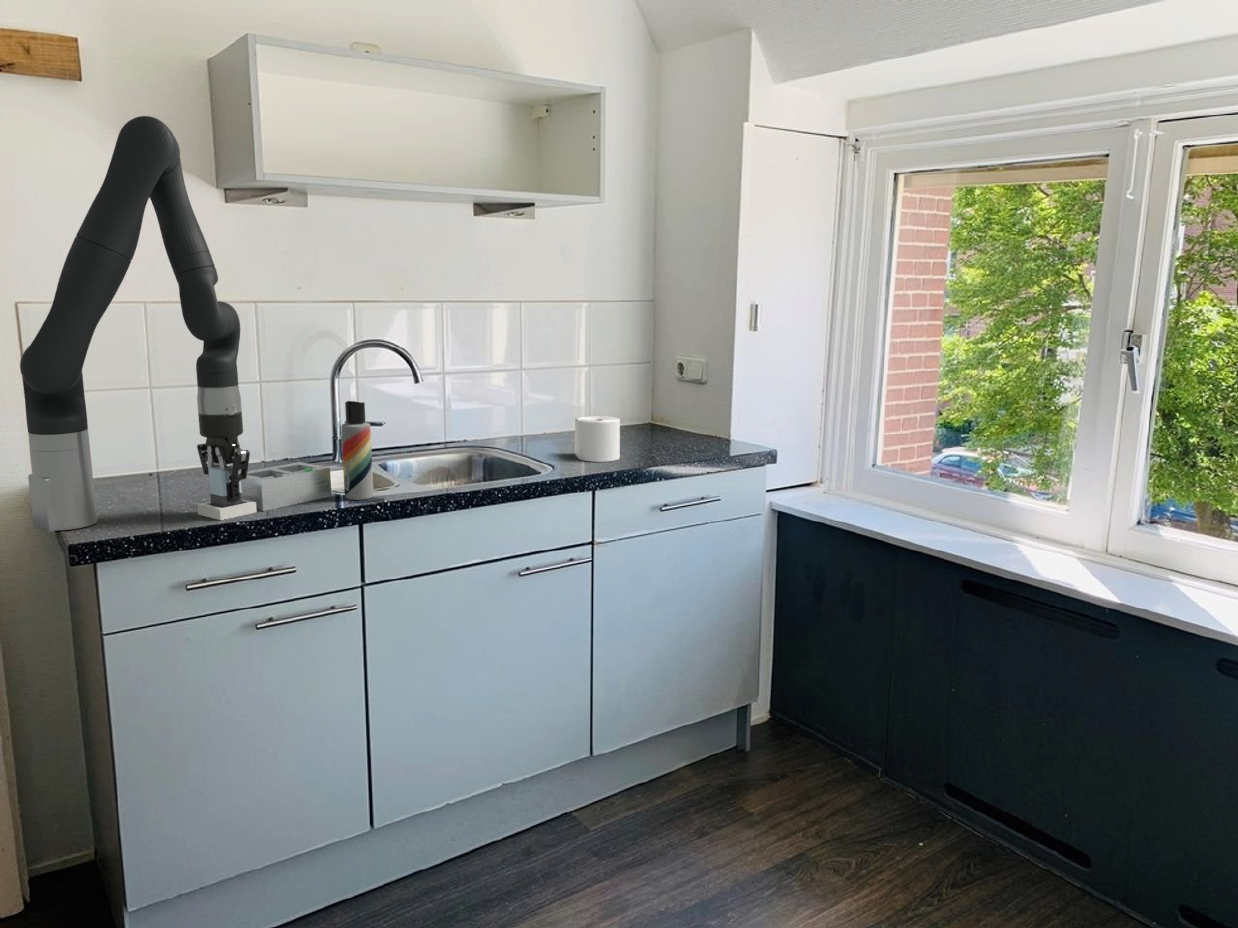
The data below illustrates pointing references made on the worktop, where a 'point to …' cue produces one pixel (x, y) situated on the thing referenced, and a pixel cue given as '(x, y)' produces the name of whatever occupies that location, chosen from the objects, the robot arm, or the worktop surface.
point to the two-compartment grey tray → (286, 485)
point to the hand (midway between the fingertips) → (226, 499)
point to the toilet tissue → (597, 438)
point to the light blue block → (220, 488)
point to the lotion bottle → (357, 453)
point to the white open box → (226, 510)
